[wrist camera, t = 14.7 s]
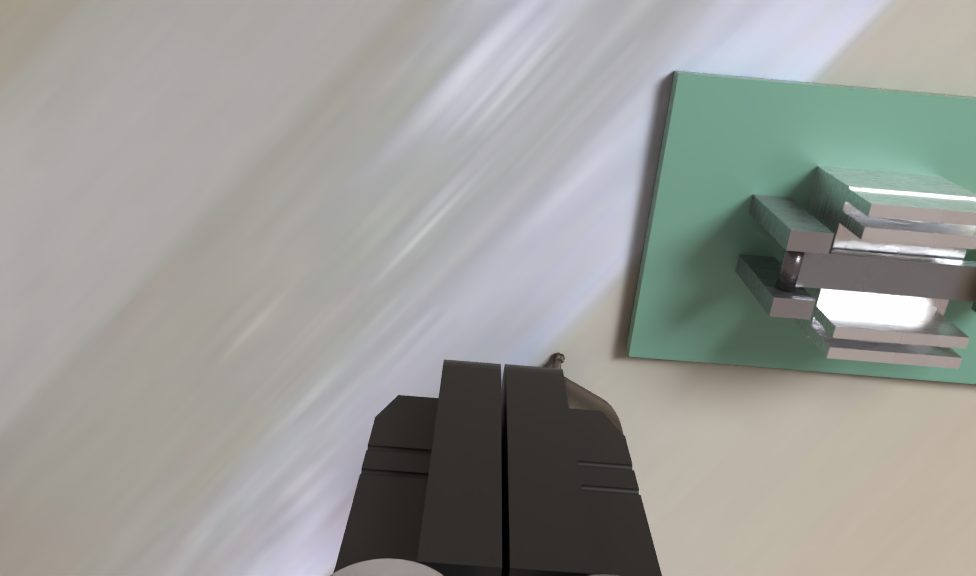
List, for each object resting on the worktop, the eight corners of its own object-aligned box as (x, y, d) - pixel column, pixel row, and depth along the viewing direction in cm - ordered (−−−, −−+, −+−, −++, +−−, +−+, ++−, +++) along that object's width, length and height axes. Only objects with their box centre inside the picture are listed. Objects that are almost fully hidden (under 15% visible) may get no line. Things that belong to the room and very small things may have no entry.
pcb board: (674, 70, 39) (678, 73, 38) (1135, 111, 40) (1150, 114, 39) (626, 348, 45) (628, 356, 45) (1024, 380, 46) (1034, 388, 45)
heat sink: (760, 160, 40) (805, 196, 34) (940, 176, 40) (1016, 213, 34) (728, 300, 43) (764, 355, 37) (895, 314, 43) (957, 370, 37)
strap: (785, 230, 37) (792, 237, 36) (1040, 252, 37) (1054, 260, 36) (770, 290, 38) (776, 299, 38) (1017, 312, 39) (1029, 320, 38)
